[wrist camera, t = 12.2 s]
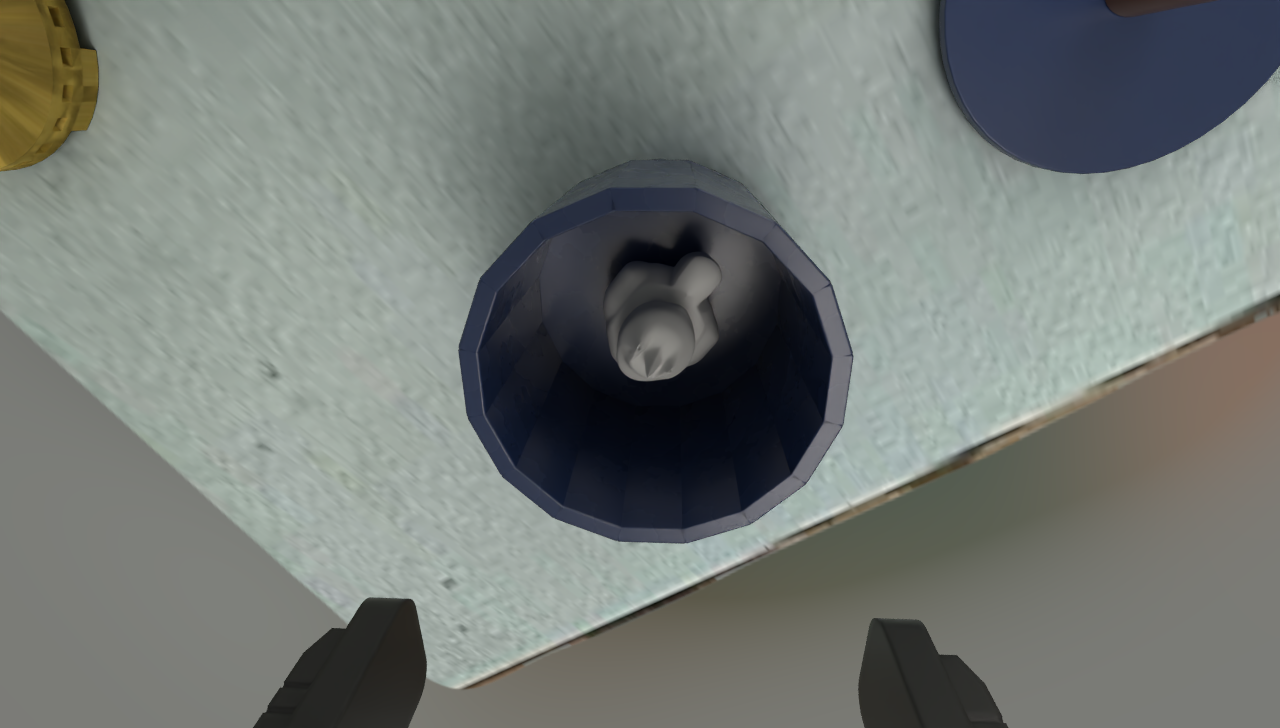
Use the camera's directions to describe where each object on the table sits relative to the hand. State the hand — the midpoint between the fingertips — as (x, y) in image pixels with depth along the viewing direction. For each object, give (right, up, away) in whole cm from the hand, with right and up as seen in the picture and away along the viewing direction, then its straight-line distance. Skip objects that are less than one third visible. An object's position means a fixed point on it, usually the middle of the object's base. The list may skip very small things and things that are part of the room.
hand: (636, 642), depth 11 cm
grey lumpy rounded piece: (+1, +8, +19) cm, 21 cm away
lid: (+19, +20, +13) cm, 30 cm away
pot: (+1, +8, +19) cm, 21 cm away
